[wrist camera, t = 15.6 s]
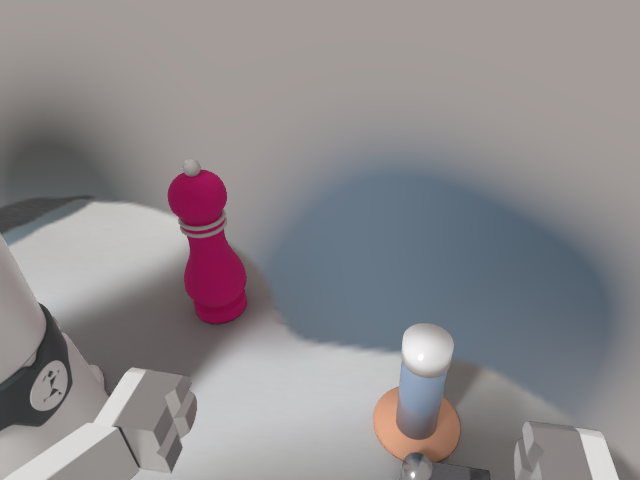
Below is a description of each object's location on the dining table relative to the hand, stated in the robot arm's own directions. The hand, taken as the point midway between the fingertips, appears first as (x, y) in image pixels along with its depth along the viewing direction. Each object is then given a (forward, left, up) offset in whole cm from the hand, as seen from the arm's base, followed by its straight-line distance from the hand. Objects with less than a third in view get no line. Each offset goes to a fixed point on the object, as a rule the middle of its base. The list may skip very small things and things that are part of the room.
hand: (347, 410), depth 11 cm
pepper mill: (-20, +32, -30) cm, 48 cm away
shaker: (+4, +20, -30) cm, 36 cm away
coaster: (+4, +20, -30) cm, 36 cm away
